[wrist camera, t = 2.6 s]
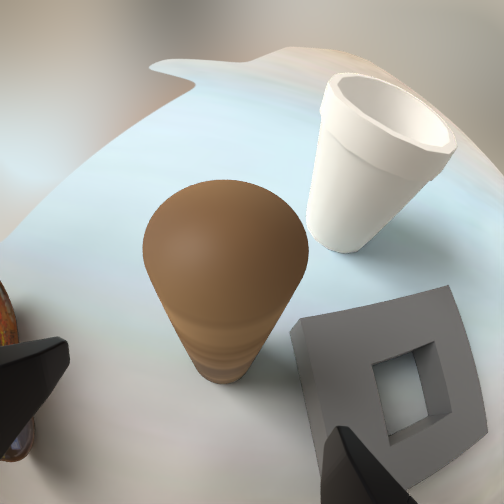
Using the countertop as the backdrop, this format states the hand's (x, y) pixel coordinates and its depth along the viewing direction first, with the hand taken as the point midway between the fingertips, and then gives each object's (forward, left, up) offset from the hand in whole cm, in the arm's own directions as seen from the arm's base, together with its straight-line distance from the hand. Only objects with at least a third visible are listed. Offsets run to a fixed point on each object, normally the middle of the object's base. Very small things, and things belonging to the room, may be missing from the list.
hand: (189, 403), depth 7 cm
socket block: (-3, -14, -11) cm, 17 cm away
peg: (+3, -2, -11) cm, 11 cm away
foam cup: (+13, -14, -11) cm, 22 cm away
